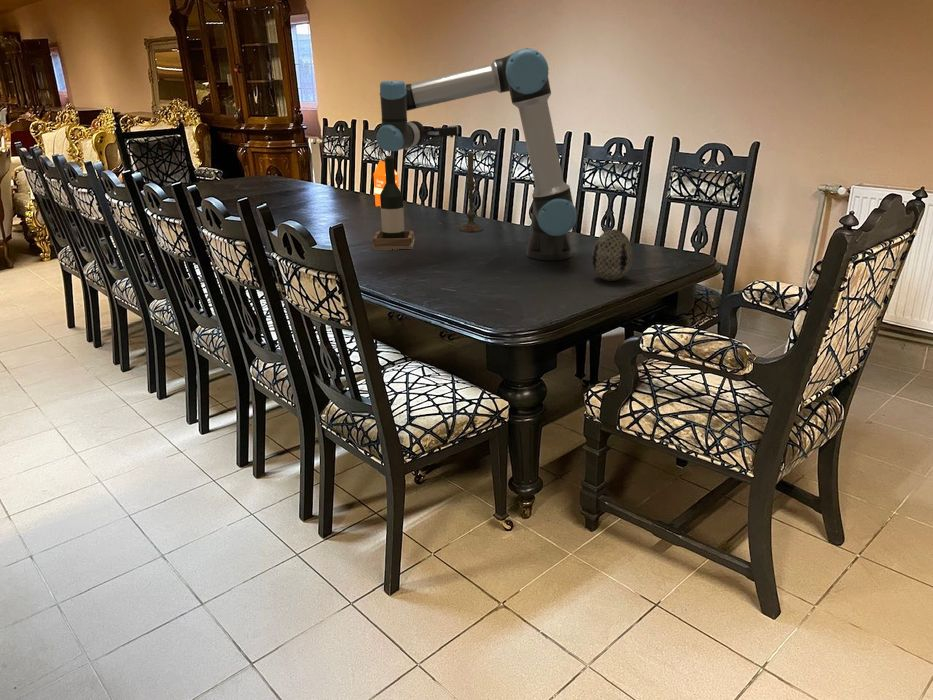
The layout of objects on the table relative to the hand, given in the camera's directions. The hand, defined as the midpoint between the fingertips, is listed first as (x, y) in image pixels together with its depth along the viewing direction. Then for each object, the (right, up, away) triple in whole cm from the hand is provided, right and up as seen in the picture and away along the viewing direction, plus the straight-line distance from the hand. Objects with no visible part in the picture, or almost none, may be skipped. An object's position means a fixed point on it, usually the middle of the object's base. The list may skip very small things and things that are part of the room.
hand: (438, 128), depth 232 cm
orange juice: (-27, -8, +89) cm, 93 cm away
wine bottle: (-17, -36, +17) cm, 43 cm away
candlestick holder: (+11, -27, +39) cm, 49 cm away
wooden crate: (-17, -36, +17) cm, 44 cm away
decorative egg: (+52, -54, -27) cm, 80 cm away
